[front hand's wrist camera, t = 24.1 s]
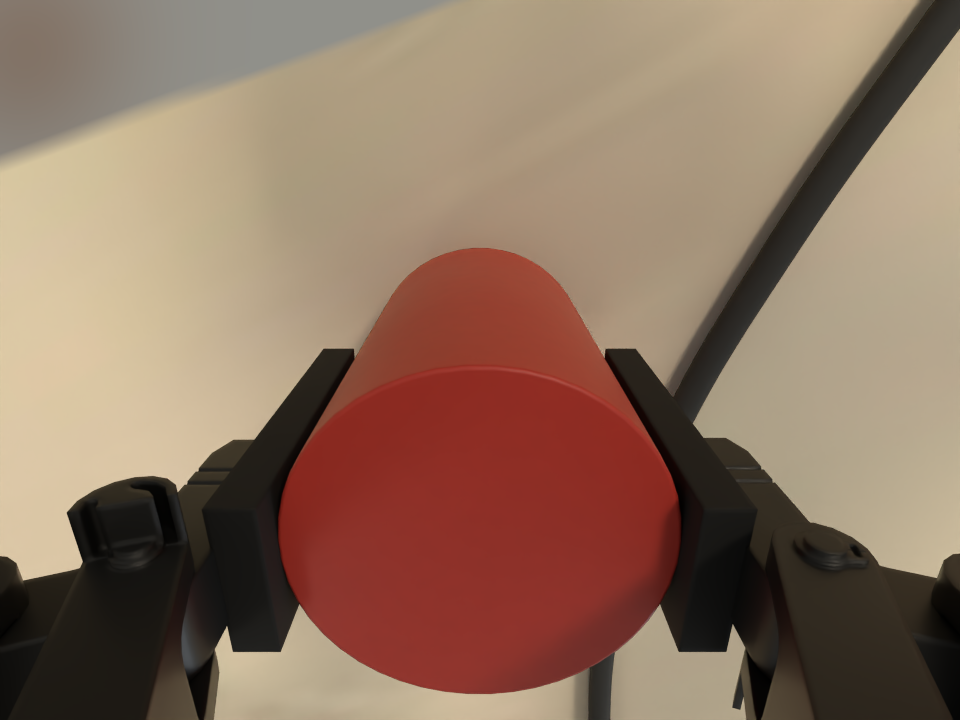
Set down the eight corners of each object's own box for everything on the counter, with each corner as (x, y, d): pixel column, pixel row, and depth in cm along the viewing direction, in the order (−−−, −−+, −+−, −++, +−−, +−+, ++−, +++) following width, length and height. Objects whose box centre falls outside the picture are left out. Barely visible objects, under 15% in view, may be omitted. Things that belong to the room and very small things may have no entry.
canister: (420, 459, 19) (370, 728, 10) (346, 286, 16) (200, 441, 8) (602, 406, 18) (715, 647, 9) (549, 218, 16) (634, 306, 7)
